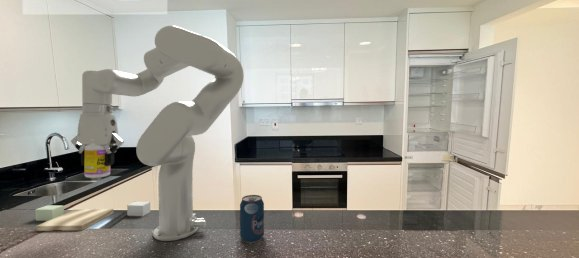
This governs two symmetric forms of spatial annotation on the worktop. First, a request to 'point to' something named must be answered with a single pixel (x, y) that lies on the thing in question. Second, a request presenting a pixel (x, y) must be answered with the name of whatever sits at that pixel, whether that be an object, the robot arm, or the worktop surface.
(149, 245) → the worktop surface
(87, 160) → the supplement bottle
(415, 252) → the worktop surface
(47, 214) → the green block
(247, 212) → the soda can
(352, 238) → the worktop surface
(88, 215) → the birch board
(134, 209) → the white block
